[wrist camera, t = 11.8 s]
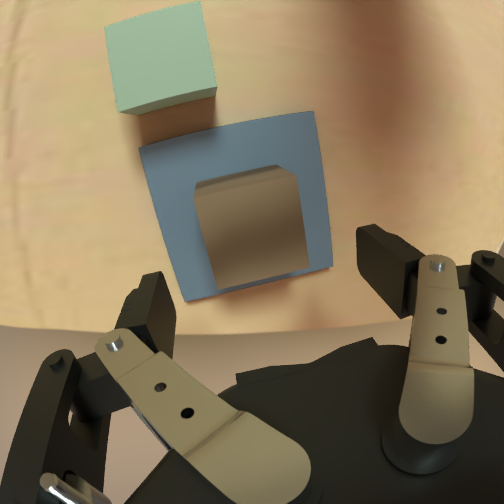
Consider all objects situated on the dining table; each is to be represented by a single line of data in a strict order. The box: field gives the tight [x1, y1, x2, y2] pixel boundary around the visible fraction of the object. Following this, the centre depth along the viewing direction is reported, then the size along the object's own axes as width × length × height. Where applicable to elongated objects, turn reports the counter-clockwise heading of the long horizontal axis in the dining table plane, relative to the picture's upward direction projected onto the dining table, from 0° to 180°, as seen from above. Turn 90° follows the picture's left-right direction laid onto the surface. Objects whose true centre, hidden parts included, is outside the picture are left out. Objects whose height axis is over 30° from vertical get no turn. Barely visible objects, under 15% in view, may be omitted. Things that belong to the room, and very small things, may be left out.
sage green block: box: [104, 1, 217, 115], centre depth 16 cm, size 6×6×5 cm
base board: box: [139, 111, 333, 302], centre depth 22 cm, size 12×12×1 cm
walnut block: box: [193, 164, 310, 290], centre depth 19 cm, size 6×6×5 cm
